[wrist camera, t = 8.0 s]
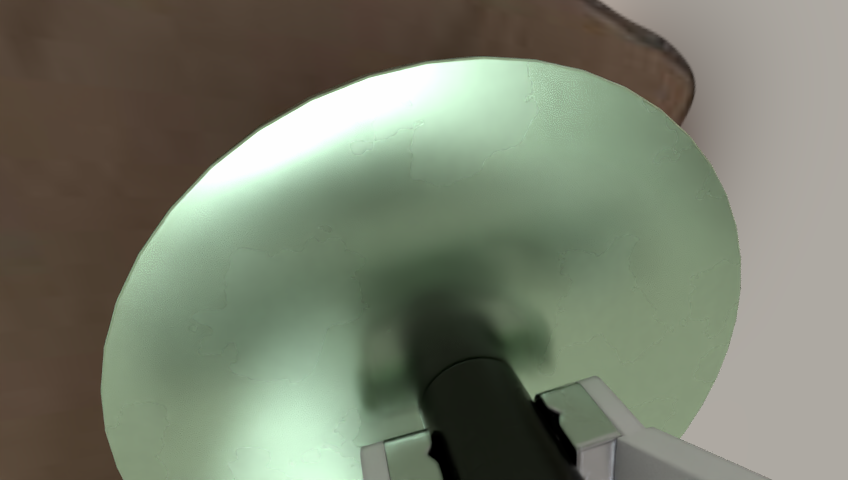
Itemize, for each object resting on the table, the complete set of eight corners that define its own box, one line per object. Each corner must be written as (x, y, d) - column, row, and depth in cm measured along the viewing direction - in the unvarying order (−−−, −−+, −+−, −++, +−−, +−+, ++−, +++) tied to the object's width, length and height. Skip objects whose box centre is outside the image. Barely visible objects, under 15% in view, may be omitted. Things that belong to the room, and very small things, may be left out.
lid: (673, 469, 16) (801, 615, 12) (252, 619, 14) (225, 869, 9) (748, 5, 9) (1096, -37, 5) (-42, 135, 7) (-567, 248, 3)
